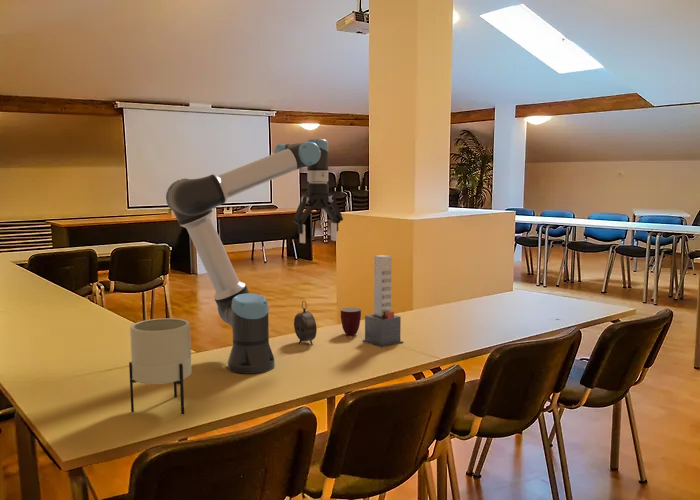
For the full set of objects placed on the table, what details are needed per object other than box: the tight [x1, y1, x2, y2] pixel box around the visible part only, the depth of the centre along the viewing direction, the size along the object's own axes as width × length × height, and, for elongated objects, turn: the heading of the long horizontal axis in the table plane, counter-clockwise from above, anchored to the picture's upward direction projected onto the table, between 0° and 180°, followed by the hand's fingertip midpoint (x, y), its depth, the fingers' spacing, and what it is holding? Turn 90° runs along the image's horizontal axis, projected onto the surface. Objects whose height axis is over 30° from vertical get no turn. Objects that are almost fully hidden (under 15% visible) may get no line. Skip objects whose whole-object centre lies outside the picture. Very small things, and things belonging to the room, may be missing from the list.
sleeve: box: [361, 310, 404, 348], centre depth 230 cm, size 11×11×12 cm
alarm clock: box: [293, 300, 318, 346], centre depth 229 cm, size 11×5×16 cm, turn 31°
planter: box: [128, 317, 192, 415], centre depth 164 cm, size 15×16×23 cm
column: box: [373, 254, 392, 319], centre depth 228 cm, size 4×5×24 cm
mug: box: [340, 307, 362, 337], centre depth 241 cm, size 10×8×10 cm
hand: (318, 241), depth 222 cm, fingers open, 13 cm apart
